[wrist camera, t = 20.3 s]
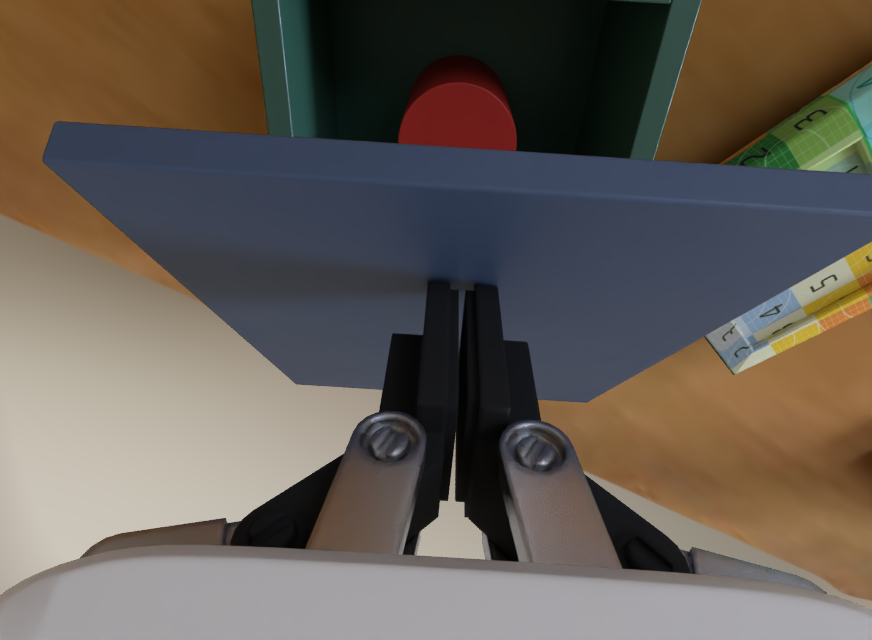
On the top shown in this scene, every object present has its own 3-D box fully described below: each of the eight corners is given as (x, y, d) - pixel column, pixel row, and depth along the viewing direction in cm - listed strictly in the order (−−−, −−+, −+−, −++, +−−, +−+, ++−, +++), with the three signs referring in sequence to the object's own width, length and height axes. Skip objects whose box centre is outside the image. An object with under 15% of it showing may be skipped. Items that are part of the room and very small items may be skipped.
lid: (53, 118, 9) (38, 160, 8) (907, 174, 9) (918, 218, 8) (297, 367, 25) (295, 384, 25) (587, 386, 25) (587, 402, 25)
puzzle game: (1205, 161, 22) (740, 386, 31) (1097, 128, 26) (709, 336, 34) (1183, -103, 17) (636, 250, 26) (1053, -96, 21) (613, 209, 30)
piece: (389, 88, 25) (374, 122, 21) (479, 33, 24) (484, 56, 19) (438, 174, 28) (434, 220, 23) (522, 128, 26) (536, 168, 22)
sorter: (310, -63, 23) (241, -60, 16) (631, -41, 23) (710, -29, 16) (333, 273, 33) (298, 369, 25) (557, 287, 33) (585, 387, 26)
